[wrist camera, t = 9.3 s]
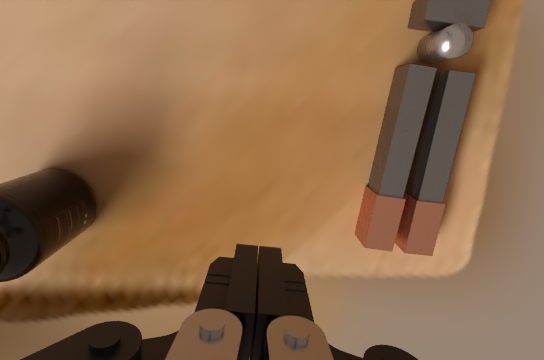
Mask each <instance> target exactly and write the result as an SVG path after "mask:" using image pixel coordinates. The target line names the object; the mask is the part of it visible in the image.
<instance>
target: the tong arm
mask: <svg viewBox="0 0 544 360" xmlns="http://www.w3.org/2000/svg"><path fill="white" fill-rule="evenodd" d="M436 70H437V68H433V67H427V66H422V65H416V64H407V65H403V66H400V67H396V68H395V72H394V76H393V80H392V85H391V89H390V93H389V97H388V102H387V106H386V110H385V114H384V119H383V123H382V127H381V132H380V136H379V140H378V144H377V149H376V153H375V157H374V162H373V166H372V170H371V174H370V179H369V183H368V186H366V187H365V191H364V195H363V200H362V204H361V208H360V213H359V217H358V221H357V226H356V230H355V235H356V236H357V238H358V239H359V241H360V242H361V244H362V245H363V246H364V248H370V249H378V250H385V251H392V250H393V246H394V242H395V239H396V235H397V231H398V227H399V224H400V220H401V216H402V212H403V208H404V205H405V201H406V199H405V198H403V195H404V192H405V188H406V184H407V180H408V176H409V173H410V169H411V165H412V161H413V157H414V154H415V150H416V146H417V142H418V138H419V135H420V131H421V127H422V123H423V119H424V115H425V112H426V108H427V104H428V100H429V96H430V93H431V89H432V85H433V81H434V77H435V74H436Z"/></svg>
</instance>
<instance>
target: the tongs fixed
mask: <svg viewBox="0 0 544 360" xmlns="http://www.w3.org/2000/svg"><path fill="white" fill-rule="evenodd" d="M490 3H491V0H416V1H415V2H414V3H413V5H412V10H411V14H410V19H409V24H408V28H410V29H417V30H424V31H431V32H434V33H432V34H429V35H427V36H425V37H424V38H422V39H421V41H420V42H419V44H418V47H417V54H418V57H419V59H420V60H421V61H422V62H424V63H428V64H430V63H435V62H439V61H443V60H447V59H451V58H456V57H460V56H462V55H464V54H465V53H467V52H468V51H469V49H470V48H471V46H472V43H473V33H472V32H474V31H477V30H479V29H482V28H484V26H485V22H486V18H487V14H488V11H489V7H490ZM475 76H476V74H474V73H467V72H459V71H452V70H448V71H442V72H437V73H436V74H435V77H434V81H433V85H432V89H431V93H430V96H429V100H428V104H427V108H426V112H425V115H424V119H423V123H422V127H421V131H420V135H419V138H418V142H417V146H416V150H415V154H414V157H413V161H412V165H411V169H410V173H409V176H408V180H407V184H406V188H405V192H404V195H403V198H405V199H406V201H405V205H404V208H403V212H402V216H401V220H400V224H399V227H398V231H397V235H396V239H395V243H396V244H397V245H398V247H399V248H400V249H401V250H402V251H403V252H404V253H409V254H418V255H428V256H432V255H433V251H434V247H435V243H436V240H437V236H438V232H439V228H440V224H441V220H442V217H443V213H444V209H445V205H446V204H445V203H443V199H444V195H445V191H446V187H447V183H448V180H449V176H450V172H451V168H452V164H453V160H454V156H455V153H456V149H457V145H458V141H459V137H460V133H461V129H462V126H463V122H464V118H465V114H466V110H467V106H468V102H469V99H470V95H471V91H472V87H473V83H474V79H475Z"/></svg>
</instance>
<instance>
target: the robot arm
mask: <svg viewBox="0 0 544 360" xmlns="http://www.w3.org/2000/svg"><path fill="white" fill-rule="evenodd" d="M257 257H258V263H257ZM249 357H250V360H418V359H417V358H415V357H414V356H412V355H411V354H409V353H408V352H406V351H403V350H402V349H399V348H397V347H393V346H389V345H375V346H372V347H370V348H369V349H367V350H366V352H365V353H364V357H363V358H361V357H357V356H355V355H352V354H349V353H346V352H343V351H341V350H338V349H336V348H334V347H333V346H331V345H330V344H328V342H327V339H326V336H325V334H324V332H323V331H322V330H321V328H320V327H319V326H318V325H316V324H315V323H314V320H313V316H312V311H311V306H310V302H309V297H308V293H307V288H306V285H305V279H304V274H303V272H302V271H301V270H300V269H299V268H298V267H297V266H296V264H289V263H283V262H282V253H281V248H275V247H265V246H260V247H259V254H258V246H254V245H244V244H237V246H236V251H235V256H234V258H227V257H218V258H217V259H216V260H215V261H214V262H212V263H211V264H210V267H209V270H208V273H207V276H206V279H205V283H204V285H203V288H202V291H201V294H200V297H199V300H198V303H197V306H196V309H195V312H194V313H193V314H191V315H190V316H188V317H187V318H186V319H185V321H184V322H183V323H182V325H181V327H180V329H179V331H177V332H175V333H172V334H170V335H166V336H161V337H156V338H149V339H143V340H142V335H141V332H140V330H139V329H138V328H137V327H136V326H134V325H132V324H130V323H127V322H122V321H110V322H104V323H99V324H96V325H93V326H91V327H89V328H86V329H85V330H82V331H80V332H78V333H76V334H74V335H72V336H70V337H67V338H65V339H63V340H61V341H59V342H57V343H55V344H52V345H50V346H48V347H46V348H44V349H42V350H40V351H38V352H36V353H33V354H31V355H29V356H27V357H25V358H23V359H21V360H249Z"/></svg>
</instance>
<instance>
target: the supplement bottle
mask: <svg viewBox="0 0 544 360" xmlns="http://www.w3.org/2000/svg"><path fill="white" fill-rule="evenodd" d="M95 211H96V203H95V198H94V195H93V193H92V191H91V189H90V188H89V186H88V185H87V184H86V183H85V182H84V181H83V180H82V179H81V178H79V177H78V176H76V175H75V174H73V173H70V172H68V171H65V170H60V169H47V170H42V171H39V172H35V173H32V174H29V175H26V176H23V177H20V178H17V179H14V180H10V181H7V182H4V183H1V184H0V282H5V281H10V280H14V279H17V278H19V277H22V276H23V275H25V274H27V273H28V272H30V271H31V270H33V269H34V268H35V267H37V266H38V265H39V264H41V263H42V262H43V261H45V260H46V259H47V258H49V257H50V256H51V255H53V254H54V253H55V252H57V251H58V250H59V249H61V248H62V247H63V246H65V245H66V244H67V243H69V242H70V241H71V240H73V239H74V238H75V237H77V236H78V235H79V234H81V233H82V232H83V231H84V230H86V229H87V228H88V227H89V225H90V224H91V222H92V221H93V219H94V216H95Z"/></svg>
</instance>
